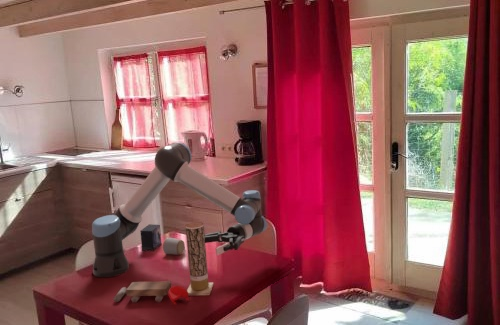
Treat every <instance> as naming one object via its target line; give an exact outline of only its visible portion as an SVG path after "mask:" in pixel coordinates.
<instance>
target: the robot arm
mask: <svg viewBox="0 0 500 325" xmlns="http://www.w3.org/2000/svg"><path fill="white" fill-rule="evenodd" d="M192 157H193V156H192V152H191V149H190V147H189V146H188V145H186V143H184V142H172V143H170V144H168V145H166V146H163V147H161V148H159V150H157V152H156V153H155V157H154V167H153V169H152V170H151V172H150V173H149V174H148V176H147V177H146V178H145V180H144V181H143V182H142V183H141V185H140V186H139V187H138V188H137V189H136V191H135V192H134V193H133V194H132V196H131V197H130V198H129V200H128V201H127V202H126V203H123V204H120V206H119V207H118V208H117V209H116V211H115V212H114V213H113V214H108V215H102V216H101V217H98V218H96V219H94V221H93V222H92V224H91V234H92V238H93V246H94V247H93V248H94V254H95V255H94V260H93V266H92V272H93V274H92V275H93V276H94V277H97V278H111V277H116V276H119V275H122V274H124V273H126V272H127V271H128V270H129V269H130V264H129V261H128V259H127V257H126V255H125V253H124V246H123V240H125V239H126V238H128V236H130V235H132V234H134V232H135V231H136V230H137V229H138V227H139V224H140V223H141V221H142V220H143V217H142V215H143V214H144V213H145V211H146V210H147V209H148V208H149V207H150V205H151V204H152V203H153V202H154V200H155V199H156V198H157V197H158V195H159V194H160V193H161V192H162V190H164V188H165V186H166V185H167V184H168V183H169V181H173V182H175V183H178V182H179V183H180V184H182V185H184V186H186V187H187V188H189V189H191V190H192V191H194V192H196V194H199V195H200V196H202V197H203V198H205V199H207V200H208V201H209V202H212V203H213V204H214V205H216V206H217V207H220V209H222V210H225V211H226V212H228V213H229V214H230V215H232V216H233V217H234V219H235V221H236V222H237V223H236V224H234V225H232V226H229V227H228V228H227V230H226V231H224V232H222V231H221V230H218V231H216V232H211V233H210V232H209V233H204V234H205V244H206V243H209V244H210V243H214V242H215V243H216V242H218V243H224V244H221V245H219V246H218V247H215V254H216V256H220V255H222V254H223V253H226V252H228V251H233V249H234V251H238V250H239V248H240V247H241V245H242V244H243V243H245V241H246V240H248V239H250V238H253V237H255V236H258V235H260V234H261V233H263V232H264V231H266V229H267V228H268V221H267V220H266V218H265V217H264V215H262V201H261V200H262V198H261V193H260V191H259V190H255V189H254V190H252V189H251V190H245V191H244V192H242V198H241V197H240V196H238V195H237V194H235V193H233V192H232V191H230V190H228V189H227V188H226V187H224V186H222V185H221V184H219V183H217V182H216V181H215V180H212V179H211V178H209V177H208V176H205V175H204V174H203V173H201V172H200V171H198V170H196V169H195V168H193V167H192V166H190V163H191V161H192Z"/></svg>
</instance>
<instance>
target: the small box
mask: <svg viewBox="0 0 500 325" xmlns="http://www.w3.org/2000/svg"><path fill="white" fill-rule="evenodd" d="M139 231H140V241H141V252H154V251H155V250H156V249H158V248H159V247H160V246H162V245H163V243H162V234H161V224H152V223H151V224H148V225H146V226H145V227H143V228H142V229H141V230H139Z"/></svg>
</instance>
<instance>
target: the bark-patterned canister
mask: <svg viewBox="0 0 500 325" xmlns="http://www.w3.org/2000/svg"><path fill="white" fill-rule="evenodd" d="M205 234H206V233H205V225H204V222H199V221H195V222H188V223H187V224H185V238H186V247H187V248H186V249H187V259H188V269H189V270H188V272H189V279H190V280H189V282H190V283H191V288H192V289H193V290H196V291H200V290H204V289H206V288H207V287H208V285H209V284H208V283H209V275H208V260H207V259H208V258H207V248H206V243H205Z"/></svg>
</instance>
